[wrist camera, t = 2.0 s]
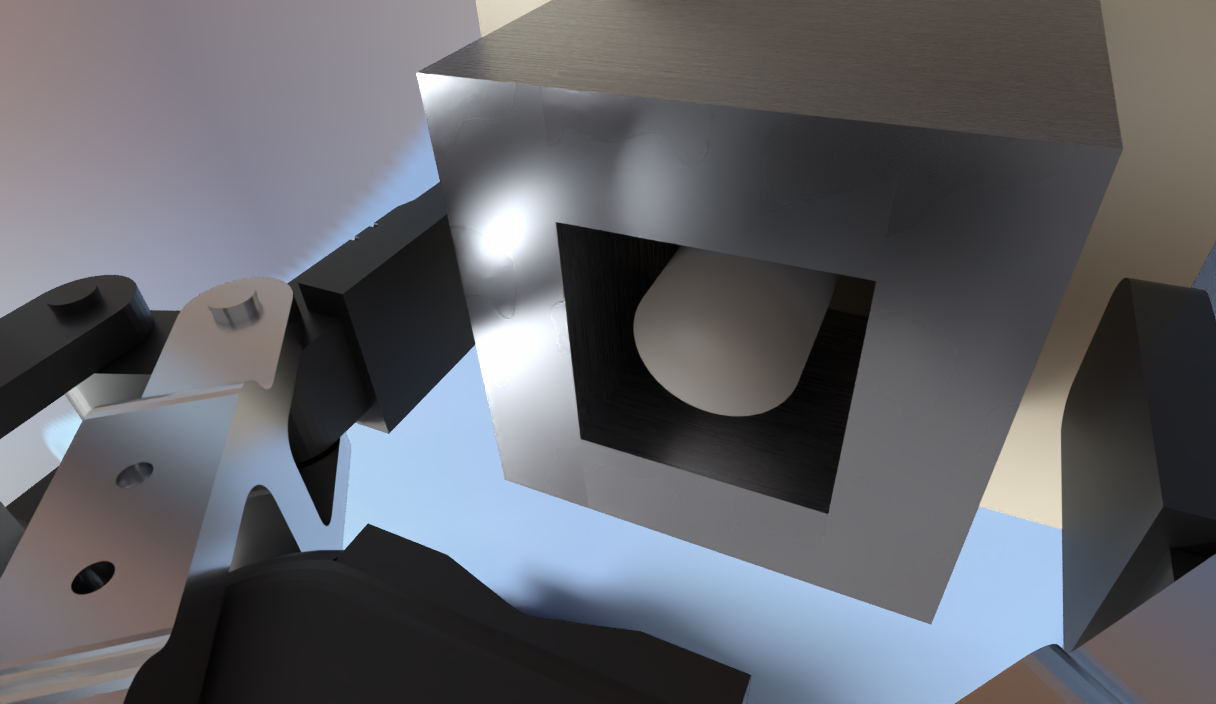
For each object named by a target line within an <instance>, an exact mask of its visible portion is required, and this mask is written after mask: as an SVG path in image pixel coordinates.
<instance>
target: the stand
mask: <svg viewBox="0 0 1216 704" xmlns="http://www.w3.org/2000/svg"><path fill="white" fill-rule="evenodd" d="M549 1H551V0H476V5H477V11H478V18H479V24H480V30H481V37H484V36H486V35H488V34H489V33H491V32H493V31H495V30H497V29H499V28H501V27H502V26H504V25H506V24H508V23H510V22H512V21H514V20H516V19H517V18H519V17H521V16H523V15H525V14H527V13H529V12H530V11H532V10H534V9H536V8H538V7H540V6H542V5H544V4H545V3H547V2H549ZM1100 3H1101V10H1102V16H1103V23H1104V29H1105V36H1106V42H1107V48H1108V55H1109V61H1110V68H1111V74H1112V81H1113V87H1114V94H1115V100H1116V107H1117V113H1118V119H1119V126H1120V132H1121V139H1122V145H1123V151H1122V153H1121V156H1120V158H1119V161H1118V163H1117V166H1116V168H1115V171H1114V173H1113V176H1112V178H1111V180H1110V183H1109V185H1108V188H1107V190H1106V193H1105V195H1104V198H1103V200H1102V203H1101V205H1100V208H1099V210H1098V213H1097V215H1096V218H1095V220H1094V223H1093V225H1092V227H1091V230H1090V232H1089V235H1088V237H1087V240H1086V242H1085V245H1084V247H1083V250H1082V252H1081V255H1080V257H1079V260H1078V262H1077V265H1076V267H1075V270H1074V272H1073V274H1072V277H1071V279H1070V282H1069V284H1068V287H1067V289H1066V292H1065V294H1064V297H1063V299H1062V302H1061V304H1060V307H1059V309H1058V312H1057V314H1056V317H1055V319H1054V321H1053V324H1052V326H1051V329H1050V331H1049V334H1048V336H1047V339H1046V341H1045V344H1044V346H1043V349H1042V351H1041V354H1040V356H1039V359H1038V361H1037V364H1036V366H1035V369H1034V371H1033V373H1032V376H1031V378H1030V381H1029V383H1028V386H1027V388H1026V391H1025V393H1024V396H1023V398H1022V401H1021V403H1020V406H1019V408H1018V411H1017V413H1016V416H1015V418H1014V420H1013V423H1012V425H1011V428H1010V430H1009V433H1008V435H1007V438H1006V440H1005V443H1004V445H1003V448H1002V450H1001V453H1000V455H999V458H998V460H997V463H996V465H995V467H994V470H993V472H992V475H991V477H990V480H989V482H988V485H987V487H986V490H985V492H984V495H983V497H982V500H981V502H980V505H979V506H980V507H983V508H987V509H990V510H994V511H998V512H1001V513H1005V514H1008V515H1012V516H1016V517H1019V518H1023V519H1026V520H1030V521H1034V522H1037V523H1041V524H1044V525H1048V526H1052V527H1055V528H1059V529H1062V486H1061V424H1062V418H1063V413H1064V408H1065V404H1066V400H1067V397H1068V394H1069V391H1070V388H1071V385H1072V383H1073V380H1074V378H1075V376H1076V374H1077V371H1078V369H1079V367H1080V365H1081V363H1082V360H1083V358H1084V356H1085V354H1086V351H1087V349H1088V347H1089V345H1090V342H1091V340H1092V338H1093V336H1094V333H1095V331H1096V329H1097V327H1098V325H1099V322H1100V320H1101V318H1102V316H1103V313H1104V311H1105V309H1106V307H1107V304H1108V302H1109V300H1110V298H1111V296H1112V294H1113V292H1114V290H1115V288H1116V287H1117V285H1118V284H1119V282H1120V281H1121V280H1122V279H1123V278H1126V277H1127V278H1133V279H1139V280H1145V281H1151V282H1157V283H1164V284H1170V285H1176V286H1182V287H1188V288H1191V287H1192V285H1193V283H1194V281H1195V279H1196V277H1197V276H1198V274H1199V272H1200V270H1201V268H1202V266H1203V264H1204V262H1205V261H1206V259H1207V257H1208V255H1209V253H1210V251H1211V249H1212V247H1213V246H1214V244H1215V242H1216V0H1100ZM875 285H876V281H873V280H868V279H862V278H857V277H851V276H846V275H840V274H835V273H830V272H824V271H819V270H813V269H808V268H802V267H797V266H792V265H786V264H781V263H775V262H770V261H764V260H759V259H754V258H748V257H743V256H737V255H732V254H727V253H721V252H716V251H710V250H705V249H699V248H694V247H689V246H683V245H681V246H680V248H679V249H678V250H677V252H676V253H675V254H674V256H673V257H672V258H671V260H670V261H669V263H668V264H667V265H666V267H665V268H664V269H663V271H662V272H661V274H660V275H659V276H658V278H657V279H656V280H655V282H654V283H653V285H652V286H651V287H650V289H649V290H648V291H647V293H646V294H645V295H644V297H643V298H642V300H641V302H640V303H639V305H638V308H637V310H636V313H635V318H634V338H635V342H636V346H637V349H638V352H639V354H640V357H641V358H642V360H643V362H644V364H645V366H646V367H647V369H648V370H649V371H650V373H651V374H652V375H653V376H654V378H655V379H656V380H657V381H658V382H659V383H660V384H661V385H662V386H663V387H664V388H665V389H667V390H668V391H669V392H671V393H672V394H673V395H675V396H676V397H678V398H679V399H681V400H682V401H684V402H686V403H688V404H690V405H692V406H694V407H696V408H699V409H701V410H704V411H708V412H711V413H715V414H720V415H726V416H750V415H755V414H760V413H763V412H766V411H769V410H771V409H773V408H775V407H777V406H778V405H780V404H781V403H782V402H784V401H785V400H786V399H787V398H788V397H789V396H790V395H791V394H792V392H793V391H794V389H795V388H796V386H797V384H798V381H799V379H800V377H801V374H802V371H803V369H804V366H805V364H806V361H807V359H808V356H809V354H810V351H811V349H812V346H813V344H814V341H815V339H816V336H817V334H818V331H819V329H820V326H821V324H822V321H823V319H824V316H825V314H826V311H827V309H831V310H836V311H841V312H846V313H851V314H856V315H861V316H866V317H869V314H870V310H871V305H872V300H873V295H874V290H875Z"/></svg>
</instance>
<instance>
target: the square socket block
mask: <svg viewBox="0 0 1216 704" xmlns="http://www.w3.org/2000/svg"><path fill="white" fill-rule="evenodd" d="M417 78H418V82H419V87H420V92H421V96H422V101H423V105H424V110H425V115H426V119H427V124H428V128H429V133H430V138H431V142H432V147H433V151H434V156H435V161H436V165H437V170H438V174H439V179H440V184H441V188H442V193H443V197H444V202H445V206H446V211H447V216H448V220H449V225H450V229H451V234H452V239H453V243H454V248H455V252H456V257H457V262H458V266H459V271H460V275H461V280H462V284H463V289H464V294H465V298H466V303H467V307H468V312H469V317H470V321H471V326H472V330H473V335H474V340H475V344H476V349H477V353H478V358H479V363H480V367H481V372H482V376H483V381H484V385H485V390H486V395H487V399H488V404H489V408H490V413H491V418H492V422H493V427H494V431H495V436H496V441H497V445H498V450H499V454H500V459H501V464H502V468H503V473H504V477H505V480H508V481H511V482H514V483H516V484H519V485H522V486H525V487H528V488H531V489H534V490H537V491H540V492H543V493H546V494H549V495H552V496H555V497H558V498H561V499H564V500H567V501H569V502H572V503H575V504H578V505H581V506H584V507H587V508H590V509H593V510H596V511H599V512H602V513H605V514H608V515H611V516H614V517H617V518H619V519H622V520H625V521H628V522H631V523H634V524H637V525H640V526H643V527H646V528H649V529H652V530H655V531H658V532H661V533H664V534H667V535H669V536H672V537H675V538H678V539H681V540H684V541H687V542H690V543H693V544H696V545H699V546H702V547H705V548H708V549H711V550H714V551H717V552H719V553H722V554H725V555H728V556H731V557H734V558H737V559H740V560H743V561H746V562H749V563H752V564H755V565H758V566H761V567H764V568H767V569H769V570H772V571H775V572H778V573H781V574H784V575H787V576H790V577H793V578H796V579H799V580H802V581H805V582H808V583H811V584H814V585H817V586H819V587H822V588H825V589H828V590H831V591H834V592H837V593H840V594H843V595H846V596H849V597H852V598H855V599H858V600H861V601H864V602H867V603H869V604H872V605H875V606H878V607H881V608H884V609H887V610H890V611H893V612H896V613H899V614H902V615H905V616H908V617H911V618H914V619H917V620H920V621H922V622H925V623H928V624H931V623H932V621H933V618H934V616H935V613H936V611H937V609H938V606H939V604H940V601H941V599H942V596H943V594H944V591H945V589H946V586H947V584H948V581H949V579H950V576H951V574H952V571H953V569H954V566H955V564H956V561H957V559H958V557H959V554H960V552H961V549H962V547H963V544H964V542H965V539H966V537H967V534H968V532H969V529H970V527H971V524H972V522H973V519H974V517H975V514H976V512H977V510H978V507H979V505H980V502H981V500H982V497H983V495H984V492H985V490H986V487H987V485H988V482H989V480H990V477H991V475H992V472H993V470H994V467H995V465H996V463H997V460H998V458H999V455H1000V453H1001V450H1002V448H1003V445H1004V443H1005V440H1006V438H1007V435H1008V433H1009V430H1010V428H1011V425H1012V423H1013V420H1014V418H1015V416H1016V413H1017V411H1018V408H1019V406H1020V403H1021V401H1022V398H1023V396H1024V393H1025V391H1026V388H1027V386H1028V383H1029V381H1030V378H1031V376H1032V373H1033V371H1034V369H1035V366H1036V364H1037V361H1038V359H1039V356H1040V354H1041V351H1042V349H1043V346H1044V344H1045V341H1046V339H1047V336H1048V334H1049V331H1050V329H1051V326H1052V324H1053V321H1054V319H1055V317H1056V314H1057V312H1058V309H1059V307H1060V304H1061V302H1062V299H1063V297H1064V294H1065V292H1066V289H1067V287H1068V284H1069V282H1070V279H1071V277H1072V274H1073V272H1074V270H1075V267H1076V265H1077V262H1078V260H1079V257H1080V255H1081V252H1082V250H1083V247H1084V245H1085V242H1086V240H1087V237H1088V235H1089V232H1090V230H1091V227H1092V225H1093V223H1094V220H1095V218H1096V215H1097V213H1098V210H1099V208H1100V205H1101V203H1102V200H1103V198H1104V195H1105V193H1106V190H1107V188H1108V185H1109V183H1110V180H1111V178H1112V176H1113V173H1114V171H1115V168H1116V166H1117V163H1118V161H1119V158H1120V156H1121V153H1122V151H1123V145H1122V139H1121V132H1120V126H1119V119H1118V113H1117V107H1116V100H1115V94H1114V87H1113V81H1112V74H1111V68H1110V61H1109V55H1108V48H1107V42H1106V36H1105V29H1104V23H1103V16H1102V10H1101V3H1100V0H551V1H549V2H547V3H545V4H544V5H542V6H540V7H538V8H536V9H534V10H532V11H530V12H529V13H527V14H525V15H523V16H521V17H519V18H517V19H516V20H514V21H512V22H510V23H508V24H506V25H504V26H502V27H501V28H499V29H497V30H495V31H493V32H491V33H489V34H488V35H486V36H484V37H482V38H480V39H478V40H476V41H474V42H473V43H471V44H469V45H467V46H465V47H463V48H461V49H459V50H458V51H456V52H454V53H452V54H450V55H448V56H446V57H445V58H443V59H441V60H439V61H437V62H435V63H433V64H431V65H430V66H428V67H426V68H424V69H422V70H420V71H418V72H417ZM681 245H683V246H689V247H694V248H699V249H705V250H710V251H716V252H721V253H727V254H732V255H737V256H743V257H748V258H754V259H759V260H764V261H770V262H775V263H781V264H786V265H792V266H797V267H802V268H808V269H813V270H819V271H824V272H830V273H835V274H840V275H846V276H851V277H857V278H862V279H868V280H873V281H876V285H875V290H874V295H873V300H872V305H871V310H870V314H869V317H866V316H861V315H856V314H851V313H846V312H841V311H836V310H831V309H827V311H826V314H825V316H824V319H823V321H822V324H821V326H820V329H819V331H818V334H817V336H816V339H815V341H814V344H813V346H812V349H811V351H810V354H809V356H808V359H807V361H806V364H805V366H804V369H803V371H802V374H801V377H800V379H799V381H798V384H797V386H796V388H795V389H794V391H793V392H792V394H791V395H790V396H789V397H788V398H787V399H786V400H785V401H784V402H782V403H781V404H780V405H778V406H777V407H775V408H773V409H771V410H769V411H766V412H763V413H760V414H755V415H750V416H726V415H720V414H715V413H711V412H708V411H704V410H701V409H699V408H696V407H694V406H692V405H690V404H688V403H686V402H684V401H682V400H681V399H679V398H678V397H676V396H675V395H673V394H672V393H671V392H669V391H668V390H667V389H665V388H664V387H663V386H662V385H661V384H660V383H659V382H658V381H657V380H656V379H655V378H654V376H653V375H652V374H651V373H650V371H649V370H648V369H647V367H646V366H645V364H644V362H643V360H642V358H641V357H640V354H639V352H638V349H637V346H636V342H635V338H634V318H635V313H636V310H637V308H638V305H639V303H640V302H641V300H642V298H643V297H644V295H645V294H646V293H647V291H648V290H649V289H650V287H651V286H652V285H653V283H654V282H655V280H656V279H657V278H658V276H659V275H660V274H661V272H662V271H663V269H664V268H665V267H666V265H667V264H668V263H669V261H670V260H671V258H672V257H673V256H674V254H675V253H676V252H677V250H678V249H679V248H680V246H681Z"/></svg>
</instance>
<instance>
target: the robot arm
mask: <svg viewBox="0 0 1216 704" xmlns="http://www.w3.org/2000/svg"><path fill="white" fill-rule="evenodd" d="M474 345H475V340H474V335H473V330H472V326H471V321H470V317H469V312H468V307H467V303H466V298H465V294H464V289H463V284H462V280H461V275H460V271H459V266H458V262H457V257H456V252H455V248H454V243H453V239H452V234H451V229H450V225H449V220H448V216H447V211H446V206H445V202H444V197H443V193H442V188H441V184H440V182H439V183H438V184H436V185H435V186H433V187H432V188H431V189H429V190H428V191H426V192H425V193H424V194H422V195H421V196H419V197H418V198H416V199H415V200H413V201H411V202H408V203H406V204H403V205H401V206H398V207H396V208H395V209H393V210H392V211H391V212H389V213H388V214H386V215H385V216H383V217H382V218H380V219H379V220H378V221H376V222H375V223H374V227H370V226H369V227H368V228H366V229H365V230H363V231H362V232H360V233H359V234H358V235H356V236H355V240H349V241H348V242H346V243H345V244H343V245H342V246H340V247H339V248H338V249H336V250H335V251H333V252H332V253H330V254H329V255H328V256H326V257H325V258H323V259H322V260H320V261H319V262H318V263H316V264H315V265H313V266H312V267H310V268H309V269H308V270H306V271H305V272H303V273H302V274H300V275H299V276H298V277H296V278H295V279H293V280H292V281H290V282H289V283H285V282H284V281H281V280H279V279H275V278H268V277H254V278H253V277H252V278H244V279H239V280H234V281H231V282H227V283H224V284H221V285H218V286H216V287H213V288H211V289H209V290H207V291H205V292H203V293H201V294H199V295H198V296H197V297H195V298H194V299H192V300H191V301H190V302H189V303H187V304H186V305H185V306H184V308H183V309H182V310H181V311H152V310H149V308H148V306H147V304H146V302H145V300H144V299H143V296H142V295H141V293H140V291H139V289H138V287H137V285H136V283H135V282H134V281H133V280H131V279H130V278H127V277H124V276H119V275H102V276H94V277H88V278H84V279H80V280H76V281H73V282H70V283H66V284H64V285H61V286H59V287H56V288H54V289H52V290H50V291H48V292H46V293H44V294H42V295H40V296H38V297H37V298H35V299H33V300H31V301H30V302H28V303H26V304H25V305H23V306H21V307H19V308H18V309H16V310H14V311H12V312H11V313H9V314H7V315H6V316H4V317H2V318H0V439H1V438H2V437H4V436H5V435H7V434H8V433H10V432H11V431H13V430H14V429H15V428H17V427H18V426H20V425H21V424H23V423H24V422H25V421H27V420H28V419H30V418H31V417H33V416H34V415H35V414H37V413H38V412H40V411H41V410H43V409H44V408H46V407H47V406H48V405H50V404H51V403H53V402H54V401H55V400H57V399H58V398H60V397H61V396H63V395H64V394H65V395H66V397H67V398H68V400H69V401H70V403H71V404H72V406H73V407H74V409H75V410H76V412H77V413H78V414H79V416H80V417H81V419H82V420H83V421H82V423H81V425H80V427H79V429H78V431H77V433H76V434H75V436H74V438H73V440H72V442H71V444H70V446H69V448H68V450H67V452H66V454H65V456H64V458H63V459H62V461H61V463H60V465H59V466H58V467H57V468H56V469H54V470H53V471H52V472H50V473H49V474H48V475H47V476H45V477H44V478H43V479H41V480H40V481H39V482H38V483H36V484H35V485H34V486H32V487H31V488H30V489H28V490H27V491H26V492H25V493H23V494H22V495H21V496H20V497H18V498H17V499H15V500H14V501H13V502H12V503H10V504H9V505H8V506H6V507H5V506H4V505H3V504H2V503H1V502H0V704H747V703H748V696H749V688H750V681H751V675H750V674H747V673H745V672H742V671H739V670H737V669H734V668H732V667H729V666H727V665H724V664H722V663H719V662H717V661H714V660H712V659H709V658H707V657H704V656H702V655H699V654H696V653H694V652H691V651H689V650H686V649H684V648H681V647H679V646H676V645H674V644H671V643H669V642H666V641H664V640H661V639H659V638H656V637H653V636H651V635H648V634H646V633H643V632H641V631H633V630H626V629H619V628H611V627H604V626H596V625H589V624H581V623H574V622H567V621H559V620H552V619H544V618H537V617H532V616H528V615H525V614H523V613H521V612H519V611H518V610H516V609H515V608H514V607H512V606H511V605H510V604H508V603H507V602H506V601H505V600H503V599H502V598H501V597H500V596H498V595H497V594H496V593H495V592H493V591H492V590H491V589H490V588H488V587H487V586H486V585H485V584H483V583H482V582H481V581H480V580H478V579H477V578H476V577H475V576H473V575H472V574H471V573H469V572H468V571H467V570H466V569H464V568H463V567H462V566H461V565H459V564H458V563H457V562H456V561H454V560H453V559H452V558H451V557H449V556H448V555H446V554H444V553H441V552H439V551H436V550H433V549H431V548H428V547H426V546H423V545H421V544H418V543H416V542H413V541H411V540H408V539H406V538H403V537H401V536H398V535H396V534H393V533H391V532H388V531H385V530H383V529H380V528H378V527H375V526H373V525H370V524H367V525H366V526H365V527H364V529H363V530H362V531H361V532H360V533H359V534H358V535H357V536H356V538H355V539H354V540H353V541H352V542H351V543H350V544H349V546H348V547H347V548H346V549H345V550H343V535H344V524H345V513H346V502H347V491H348V480H349V469H350V458H351V444H350V441H349V438H348V436H347V433H346V431H347V430H348V429H349V428H350V427H351V426H352V425H353V424H354V423H358V424H361V425H364V426H367V427H370V428H373V429H376V430H379V431H382V432H385V433H388V434H389V433H390V432H391V431H392V430H393V429H394V428H395V427H396V426H397V425H398V424H399V423H400V422H401V421H402V420H403V419H404V418H405V417H406V416H407V414H408V413H409V412H410V411H411V410H412V409H413V408H414V407H415V406H416V405H417V404H418V403H419V402H420V401H421V400H422V399H423V398H424V397H425V396H426V395H427V394H428V393H429V392H430V391H431V390H432V389H433V388H434V387H435V386H436V385H437V384H438V382H439V381H440V380H441V379H442V378H443V377H444V376H445V375H446V374H447V373H448V372H449V371H450V370H451V369H452V368H453V367H454V366H455V365H456V364H457V363H458V362H459V361H460V360H461V359H462V358H463V357H464V356H465V355H466V354H467V353H468V351H469V350H470V349H471V348H472V347H473V346H474ZM1061 486H1062V560H1063V635H1064V650H1063V649H1062V648H1061V647H1060V646H1059V645H1057V644H1051V645H1047V646H1045V647H1042V648H1040V649H1038V650H1036V651H1034V652H1032V653H1030V654H1029V655H1027V656H1026V657H1024V658H1023V659H1021V660H1019V661H1018V662H1016V663H1015V664H1013V665H1012V666H1010V667H1009V668H1007V669H1006V670H1004V671H1003V672H1001V673H1000V674H998V675H997V676H995V677H994V678H992V679H991V680H989V681H988V682H986V683H985V684H983V685H982V686H980V687H979V688H977V689H976V690H974V691H973V692H971V693H970V694H968V695H967V696H966V697H964V698H963V699H961V700H960V701H958V702H957V703H955V704H1216V320H1215V316H1214V313H1213V309H1212V306H1211V302H1210V299H1209V296H1208V293H1207V292H1206V291H1204V290H1201V289H1194V288H1188V287H1182V286H1176V285H1170V284H1164V283H1157V282H1151V281H1145V280H1139V279H1133V278H1127V277H1126V278H1123V279H1122V280H1121V281H1120V282H1119V284H1118V285H1117V287H1116V288H1115V290H1114V292H1113V294H1112V296H1111V298H1110V300H1109V302H1108V304H1107V307H1106V309H1105V311H1104V313H1103V316H1102V318H1101V320H1100V322H1099V325H1098V327H1097V329H1096V331H1095V333H1094V336H1093V338H1092V340H1091V342H1090V345H1089V347H1088V349H1087V351H1086V354H1085V356H1084V358H1083V360H1082V363H1081V365H1080V367H1079V369H1078V371H1077V374H1076V376H1075V378H1074V380H1073V383H1072V385H1071V388H1070V391H1069V394H1068V397H1067V400H1066V404H1065V408H1064V413H1063V418H1062V424H1061Z"/></svg>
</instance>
